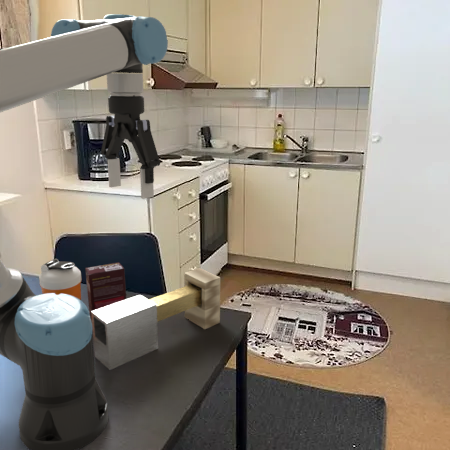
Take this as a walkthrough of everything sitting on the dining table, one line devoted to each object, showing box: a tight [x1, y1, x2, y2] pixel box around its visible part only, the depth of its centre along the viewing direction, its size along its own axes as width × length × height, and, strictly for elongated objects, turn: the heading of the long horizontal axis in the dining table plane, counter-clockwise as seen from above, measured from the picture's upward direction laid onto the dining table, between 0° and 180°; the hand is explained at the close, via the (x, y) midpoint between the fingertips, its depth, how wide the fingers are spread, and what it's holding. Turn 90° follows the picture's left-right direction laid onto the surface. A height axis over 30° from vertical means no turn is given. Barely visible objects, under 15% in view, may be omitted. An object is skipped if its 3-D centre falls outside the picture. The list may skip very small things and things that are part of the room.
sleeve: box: [91, 294, 159, 371], centre depth 104 cm, size 12×7×11 cm, turn 133°
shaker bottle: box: [38, 258, 82, 301], centre depth 106 cm, size 9×9×20 cm
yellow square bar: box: [148, 284, 202, 323], centre depth 111 cm, size 20×4×4 cm, turn 133°
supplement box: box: [85, 261, 127, 327], centre depth 114 cm, size 9×5×16 cm, turn 117°
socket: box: [183, 267, 221, 330], centre depth 118 cm, size 5×8×13 cm, turn 43°
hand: (130, 191), depth 105 cm, fingers open, 13 cm apart
